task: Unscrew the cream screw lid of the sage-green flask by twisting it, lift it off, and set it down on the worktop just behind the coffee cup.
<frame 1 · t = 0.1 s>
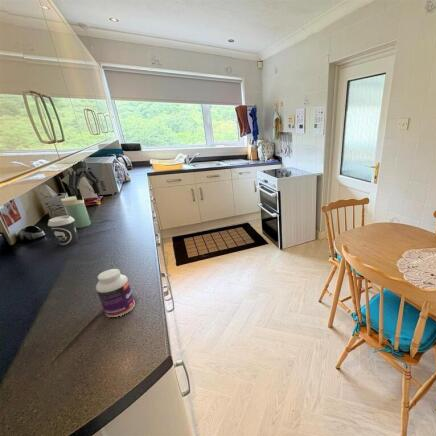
hand: (89, 196, 139), 17 cm above the countertop, tool pointing down, fingers open, 13 cm apart
coffee cup: (71, 246, 117), on the countertop
thermos lid: (72, 199, 135), point 17 cm above the countertop, screwed on, not yet turned
thermos: (81, 225, 141), on the countertop
pill bottle: (121, 310, 76), on the countertop
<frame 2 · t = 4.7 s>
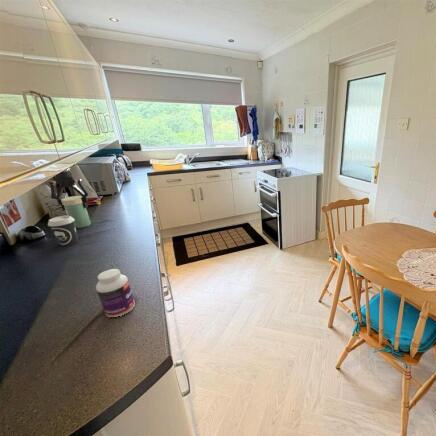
hand: (75, 208, 137), 11 cm above the countertop, tool pointing down, fingers closed on thermos lid, 9 cm apart
thermos lid: (72, 199, 135), point 17 cm above the countertop, screwed on, not yet turned, touching gripper
everything else where it was.
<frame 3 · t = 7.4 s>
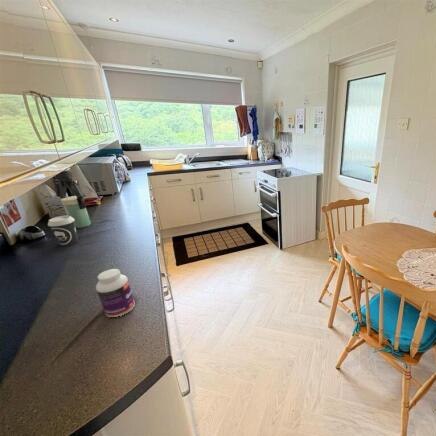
hand: (75, 208, 137), 11 cm above the countertop, tool pointing down, fingers closed on thermos lid, 9 cm apart
thermos lid: (72, 199, 135), point 17 cm above the countertop, turned 149° so far, risen 0.1 cm, still on its thread, touching gripper
everything else where it was.
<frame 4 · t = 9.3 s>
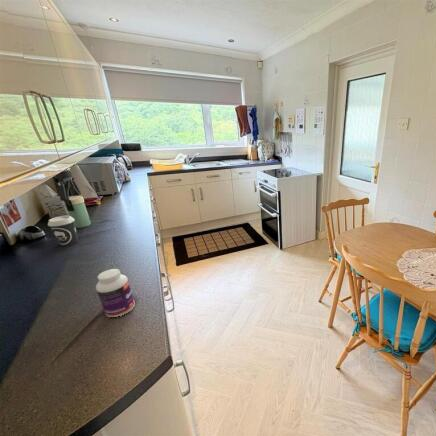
hand: (75, 208, 137), 11 cm above the countertop, tool pointing down, fingers closed on thermos lid, 9 cm apart
thermos lid: (72, 198, 135), point 17 cm above the countertop, turned 266° so far, risen 0.2 cm, still on its thread, touching gripper
everything else where it was.
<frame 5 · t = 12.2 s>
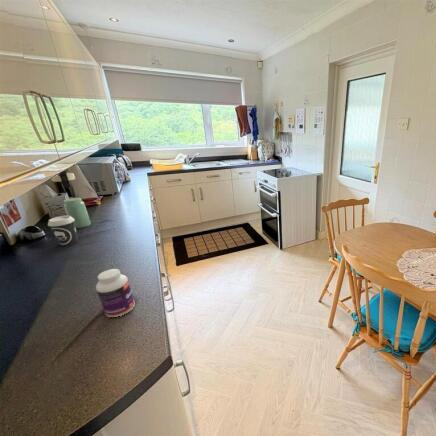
hand: (66, 185, 129), 25 cm above the countertop, tool pointing down, fingers closed on thermos lid, 9 cm apart
thermos lid: (62, 175, 127), point 31 cm above the countertop, off its thread, touching gripper
everything else where it was.
when the fingers open (0 cm above the countertop, at t = 19.8 s): thermos lid drops 2 cm, point 4 cm above the countertop.
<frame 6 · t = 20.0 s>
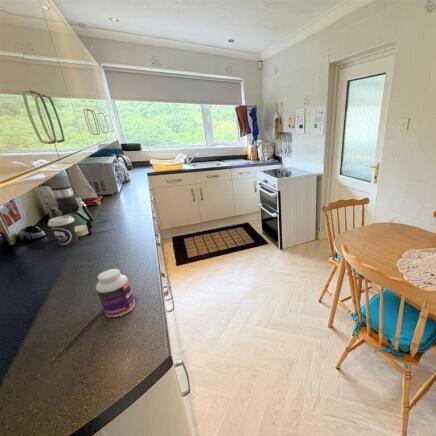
hand: (79, 235, 128), 0 cm above the countertop, tool pointing down, fingers open, 9 cm apart
thermos lid: (77, 229, 126), point 4 cm above the countertop, off its thread, touching gripper
everything else where it was.
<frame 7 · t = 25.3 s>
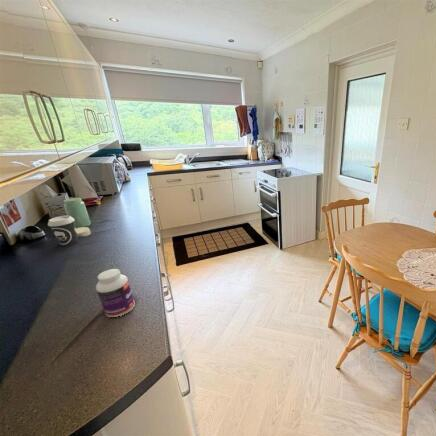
hand: (52, 170, 131), 33 cm above the countertop, tool pointing down, fingers open, 13 cm apart
thermos lid: (78, 231, 127), point 2 cm above the countertop, off its thread
everything else where it was.
at the end: thermos lid inside the target area on the countertop beside the coffee cup (0.6 cm from its centre), point 2.6 cm above the countertop; thermos lid point 2.4 cm above the countertop; thermos tilted 0° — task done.
